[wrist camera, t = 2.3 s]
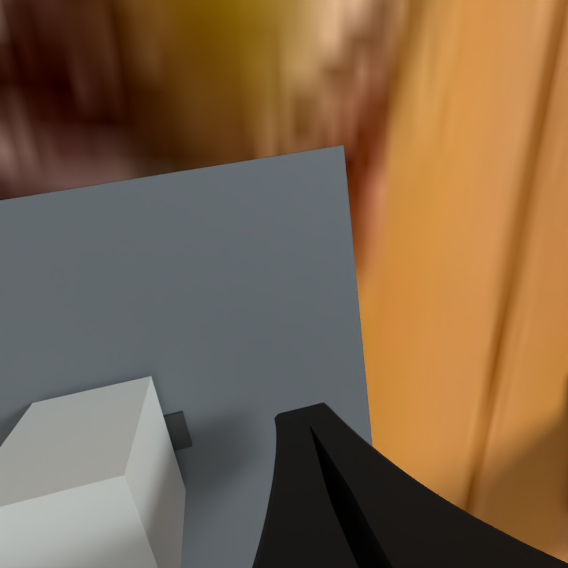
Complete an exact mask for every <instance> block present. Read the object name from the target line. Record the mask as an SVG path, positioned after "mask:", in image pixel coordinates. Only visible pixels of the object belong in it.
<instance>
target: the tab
mask: <svg viewBox="0 0 568 568" xmlns="http://www.w3.org/2000/svg"><path fill="white" fill-rule="evenodd" d="M185 495H186V490H185V486H184V483H183V480H182V476H181V473H180V470H179V466H178V463H177V460H176V457H175V453H174V450H173V447H172V443H171V440H170V437H169V433H168V430H167V427H166V423H165V420H164V417H163V414H162V410H161V407H160V404H159V400H158V397H157V394H156V390H155V387H154V384H153V381H152V377H151V376H149V377H145V378H140V379H136V380H131V381H127V382H123V383H118V384H114V385H109V386H105V387H101V388H96V389H92V390H87V391H83V392H79V393H74V394H70V395H65V396H61V397H57V398H52V399H48V400H43V401H39V402H35V403H32V405H31V406H30V407H29V409H28V410H27V411H26V413H25V414H24V415H23V417H22V418H21V419H20V421H19V422H18V424H17V425H16V426H15V428H14V429H13V430H12V432H11V433H10V434H9V436H8V437H7V438H6V440H5V441H4V443H3V444H2V445H1V447H0V568H180V567H181V553H182V538H183V524H184V509H185Z"/></svg>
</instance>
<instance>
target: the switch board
mask: <svg viewBox="0 0 568 568" xmlns="http://www.w3.org/2000/svg"><path fill="white" fill-rule="evenodd" d="M149 376H151V377H152V381H153V384H154V387H155V390H156V394H157V397H158V400H159V404H160V407H161V410H162V414H163V417H164V420H165V423H166V427H167V430H168V433H169V437H170V440H171V443H172V447H173V450H174V453H175V457H176V460H177V463H178V466H179V470H180V473H181V476H182V480H183V483H184V486H185V490H186V495H185V509H184V524H183V538H182V553H181V567H180V568H252V566H253V563H254V559H255V556H256V552H257V549H258V545H259V541H260V538H261V534H262V530H263V525H264V521H265V517H266V512H267V507H268V502H269V496H270V491H271V486H272V480H273V472H274V463H275V455H276V425H275V420H274V418H275V417H276V416H277V414H279V413H283V412H287V411H291V410H295V409H299V408H303V407H307V406H311V405H315V404H319V403H323V402H324V403H325V404H327V405H328V406H329V407H330V408H331V409H332V410H333V411H334V412H335V413H336V414H337V415H338V416H339V417H340V418H341V419H342V420H343V421H344V422H345V423H346V424H347V425H348V426H350V427H351V428H352V429H353V430H354V431H355V432H356V433H357V434H358V435H359V436H361V437H362V438H363V439H364V440H365V441H366V442H368V443H369V444H370V445H371V446H372V437H371V427H370V416H369V406H368V396H367V385H366V375H365V364H364V354H363V344H362V333H361V323H360V312H359V302H358V292H357V281H356V271H355V260H354V250H353V240H352V229H351V219H350V208H349V198H348V188H347V177H346V167H345V156H344V146H343V145H342V146H335V147H329V148H322V149H316V150H310V151H304V152H298V153H291V154H285V155H279V156H273V157H267V158H260V159H254V160H248V161H242V162H236V163H229V164H223V165H217V166H211V167H205V168H198V169H192V170H186V171H180V172H174V173H167V174H161V175H155V176H149V177H143V178H136V179H130V180H124V181H118V182H112V183H105V184H99V185H93V186H87V187H81V188H74V189H68V190H62V191H56V192H50V193H43V194H37V195H31V196H25V197H19V198H12V199H6V200H0V447H1V445H2V444H3V443H4V441H5V440H6V438H7V437H8V436H9V434H10V433H11V432H12V430H13V429H14V428H15V426H16V425H17V424H18V422H19V421H20V419H21V418H22V417H23V415H24V414H25V413H26V411H27V410H28V409H29V407H30V406H31V405H32V403H35V402H39V401H43V400H48V399H52V398H57V397H61V396H65V395H70V394H74V393H79V392H83V391H87V390H92V389H96V388H101V387H105V386H109V385H114V384H118V383H123V382H127V381H131V380H136V379H140V378H145V377H149Z"/></svg>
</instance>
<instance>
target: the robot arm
mask: <svg viewBox="0 0 568 568" xmlns="http://www.w3.org/2000/svg"><path fill="white" fill-rule="evenodd" d="M274 420H275V425H276V455H275V463H274V472H273V480H272V486H271V491H270V496H269V502H268V507H267V512H266V517H265V521H264V525H263V530H262V534H261V538H260V541H259V545H258V549H257V552H256V556H255V559H254V563H253V566H252V568H568V563H566V562H564V561H562V560H559V559H557V558H555V557H553V556H551V555H548V554H546V553H544V552H542V551H540V550H538V549H535V548H533V547H531V546H529V545H527V544H525V543H523V542H521V541H519V540H517V539H515V538H513V537H511V536H510V535H508V534H506V533H504V532H502V531H500V530H498V529H496V528H494V527H492V526H491V525H489V524H487V523H485V522H483V521H481V520H479V519H477V518H475V517H474V516H472V515H470V514H469V513H467V512H465V511H463V510H462V509H460V508H458V507H457V506H455V505H453V504H452V503H450V502H448V501H447V500H445V499H444V498H442V497H441V496H439V495H438V494H436V493H434V492H433V491H431V490H430V489H428V488H427V487H425V486H424V485H422V484H421V483H419V482H418V481H417V480H415V479H414V478H412V477H411V476H410V475H408V474H407V473H406V472H404V471H403V470H401V469H400V468H399V467H397V466H396V465H395V464H393V463H392V462H391V461H390V460H388V459H387V458H386V457H384V456H383V455H382V454H381V453H380V452H378V451H377V450H376V449H375V448H374V447H372V446H371V445H370V444H369V443H368V442H366V441H365V440H364V439H363V438H362V437H361V436H359V435H358V434H357V433H356V432H355V431H354V430H353V429H352V428H351V427H350V426H348V425H347V424H346V423H345V422H344V421H343V420H342V419H341V418H340V417H339V416H338V415H337V414H336V413H335V412H334V411H333V410H332V409H331V408H330V407H329V406H328V405H327V404H325V403H324V402H323V403H319V404H315V405H311V406H307V407H303V408H299V409H295V410H291V411H287V412H283V413H279V414H277V416H276V417H275V418H274Z"/></svg>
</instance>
